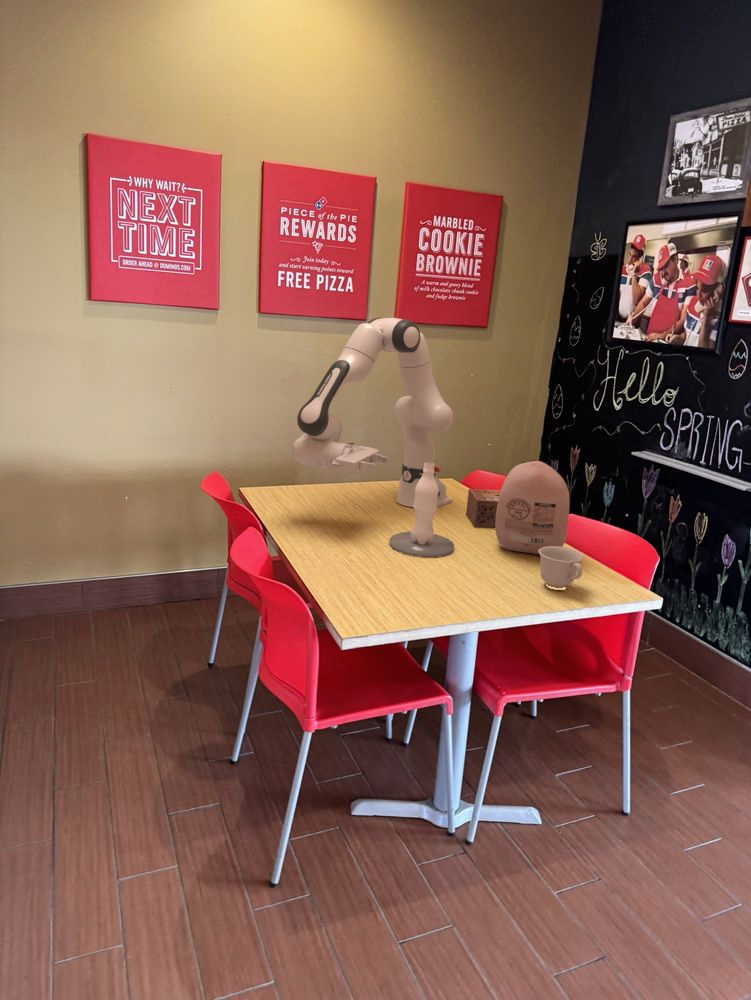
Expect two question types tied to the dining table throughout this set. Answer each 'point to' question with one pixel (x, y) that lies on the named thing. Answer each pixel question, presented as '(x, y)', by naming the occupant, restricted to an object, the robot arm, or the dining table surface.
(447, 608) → the dining table surface
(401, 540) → the plate
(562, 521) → the packaged food
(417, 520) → the water bottle
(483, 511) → the tissue box cover
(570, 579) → the teacup
